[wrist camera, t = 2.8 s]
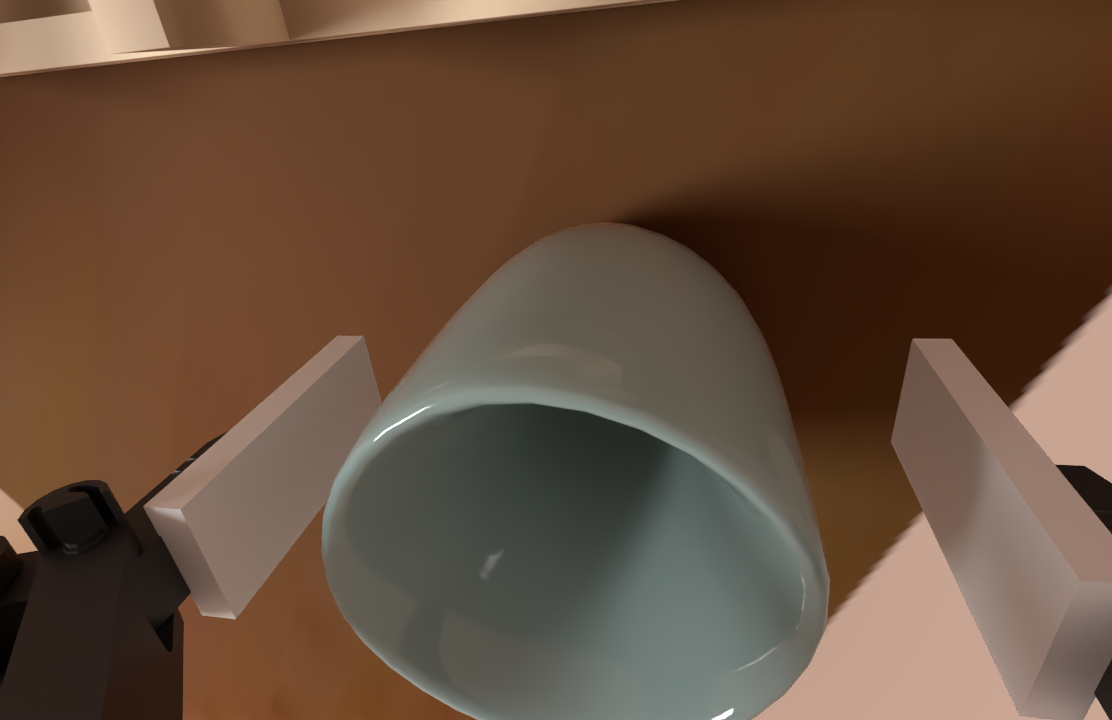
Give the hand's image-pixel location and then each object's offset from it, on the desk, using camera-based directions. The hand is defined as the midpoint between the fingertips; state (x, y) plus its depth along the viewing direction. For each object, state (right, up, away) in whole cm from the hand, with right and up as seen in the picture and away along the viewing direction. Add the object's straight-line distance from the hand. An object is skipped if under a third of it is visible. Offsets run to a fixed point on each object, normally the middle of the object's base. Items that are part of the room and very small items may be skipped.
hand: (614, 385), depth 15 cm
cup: (0, +2, +3) cm, 4 cm away
